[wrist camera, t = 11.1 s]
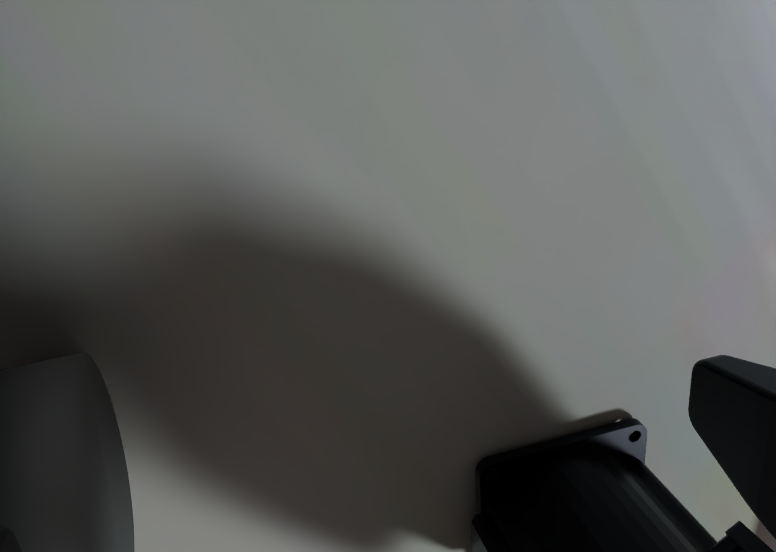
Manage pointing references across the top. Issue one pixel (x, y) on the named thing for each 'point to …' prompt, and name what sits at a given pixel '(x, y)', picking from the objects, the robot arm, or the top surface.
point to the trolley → (62, 459)
